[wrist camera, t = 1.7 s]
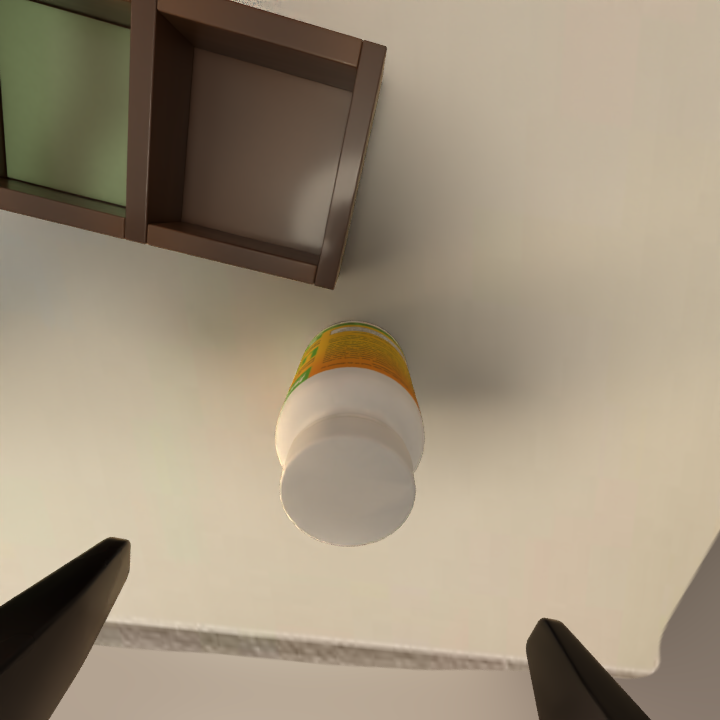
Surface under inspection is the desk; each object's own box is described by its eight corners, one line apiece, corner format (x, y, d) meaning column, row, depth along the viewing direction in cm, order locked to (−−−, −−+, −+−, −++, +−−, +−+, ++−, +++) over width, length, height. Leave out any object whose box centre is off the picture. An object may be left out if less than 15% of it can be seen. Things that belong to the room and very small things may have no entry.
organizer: (2, 193, 17) (-82, 189, 14) (-16, -35, 15) (-125, -106, 11) (338, 276, 19) (333, 290, 15) (382, 80, 16) (387, 45, 13)
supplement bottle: (309, 310, 19) (260, 398, 10) (415, 327, 20) (462, 429, 10) (296, 406, 21) (246, 553, 12) (394, 421, 21) (417, 576, 12)
